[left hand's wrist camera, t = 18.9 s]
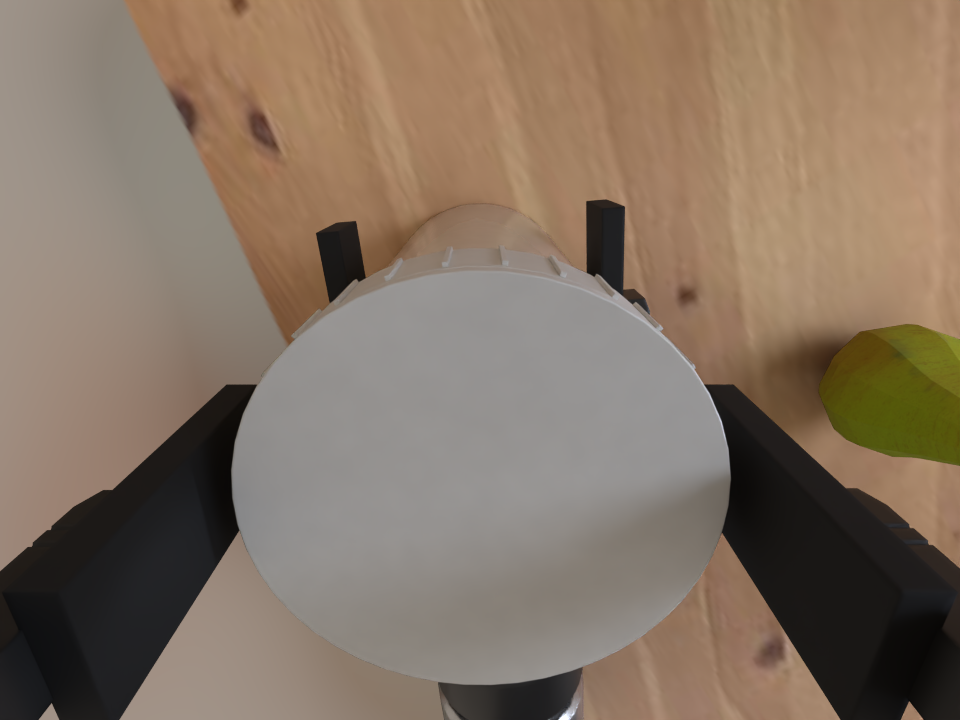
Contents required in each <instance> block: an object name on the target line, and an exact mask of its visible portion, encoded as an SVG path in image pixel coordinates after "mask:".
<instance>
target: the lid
mask: <svg viewBox="0 0 960 720" xmlns="http://www.w3.org/2000/svg"><path fill="white" fill-rule="evenodd" d="M662 329H663V328H662V327H661V326H660V325H659V324H658V323H657V322H656V321H655V320H654V319H653V318H652V317H651V316H650V315H649V314H648V313H647V312H646V311H645V310H644V309H643V308H642V307H641V306H640V305H639V304H638V303H637V302H635V303H634V304H633V305H632V304H631V303H630V302H629V301H628V300H626V299H625V298H624V297H623V296H622V295H621V294H619V293H618V292H617V291H616V290H614V289H613V288H611V286H610V285H609V284H608V283H607V282H606V281H605V280H604V279H603V278H602V277H601V276H599V275H598V274H596V276H595V277H593V276H592V275H590V274H588V273H586V272H583V271H581V270H579V269H577V268H574V267H572V266H570V265H568V264H565V263H563V262H560V261H558V260H557V258H556V257H555V256H553V255H550V256H549V258H546V257H543V256H540V255H536V254H533V253H526V252H520V251H513V250H506V249H505V247H504V246H503V245H499V249H489V248H466V249H457V250H453V249H452V246H450V247H447V248H446V251H440V252H435V253H431V254H427V255H423V256H419V257H415V258H411V259H407V260H405V261H403V259H402V258H399V259H397V260H396V261H395V263H394V264H393V265H392V266H390V267H387V268H385V269H382V270H380V271H378V272H376V273H374V274H372V275H371V276H369V277H367V278H365V279H364V280H362V281H360V282H358V280H357V279H356V280H354V281H353V282H352V283H351V284H350V285H349V286H348V287H347V288H346V289H345V290H344V291H343V292H342V293H341V294H340V295H339V296H338V297H337V298H336V299H335V300H334V301H332V302H331V303H330V304H329V305H328V306H327V307H326V308H325V309H324V310H323V311H322V310H320V309H318V310H317V311H316V312H315V313H314V314H313V315H312V316H311V317H310V318H309V319H308V320H307V321H306V322H305V323H304V324H303V325H302V326H300V327H299V328H298V329H297V330H296V331H295V332H294V333H293V334H292V335H291V336H292V337H293V338H294V339H295V340H294V341H293V342H292V343H291V344H290V345H289V346H288V347H287V348H286V349H285V350H284V351H283V352H282V353H281V354H280V355H279V356H278V357H277V358H276V359H275V361H274V362H273V363H272V364H271V365H270V366H269V367H268V368H267V369H266V370H265V371H264V372H263V373H262V375H261V376H262V377H263V378H262V379H261V381H260V382H259V383H258V385H257V386H256V388H255V390H254V392H253V394H252V396H251V399H250V401H249V403H248V405H247V407H246V409H245V411H244V413H243V416H242V419H241V423H240V426H239V429H238V433H237V436H236V439H235V444H234V452H233V460H232V468H231V476H232V499H233V504H234V509H235V515H236V520H237V525H238V527H239V530H240V533H241V536H242V538H243V541H244V544H245V547H246V550H247V552H248V553H249V555H250V557H251V559H252V561H253V563H254V565H255V567H256V569H257V570H258V572H259V574H260V575H261V577H262V578H263V579H264V581H265V582H266V584H267V585H268V586H269V588H270V589H271V591H272V592H273V593H274V595H275V596H276V597H277V598H278V599H279V600H280V601H281V602H282V603H283V604H284V605H285V607H286V608H287V609H288V610H289V611H290V612H291V613H292V614H293V615H294V616H295V617H297V618H298V619H299V620H300V621H301V622H302V623H304V624H305V625H306V626H307V627H308V628H310V629H311V630H312V631H313V632H315V633H316V634H318V635H319V636H321V637H322V638H324V639H325V640H327V641H328V642H330V643H331V644H333V645H334V646H336V647H338V648H340V649H341V650H343V651H345V652H347V653H349V654H351V655H353V656H355V657H356V658H358V659H361V660H363V661H366V662H368V663H371V664H373V665H376V666H378V667H380V668H383V669H386V670H390V671H393V672H396V673H400V674H403V675H406V676H410V677H415V678H420V679H425V680H430V681H435V682H444V683H453V684H463V685H496V684H508V683H519V682H525V681H531V680H537V679H543V678H547V677H551V676H555V675H558V674H562V673H566V672H569V671H573V670H575V669H578V668H581V667H583V666H586V665H589V664H591V663H594V662H596V661H599V660H601V659H603V658H605V657H607V656H609V655H611V654H613V653H615V652H617V651H619V650H621V649H622V648H624V647H625V646H627V645H629V644H630V643H632V642H633V641H635V640H637V639H638V638H640V637H641V636H643V635H644V634H645V633H647V632H648V631H649V630H651V629H652V628H653V627H654V626H656V625H657V624H658V623H659V622H661V621H662V620H663V619H664V618H665V617H666V616H667V615H668V614H669V613H670V612H671V611H672V610H673V609H674V608H675V607H676V606H677V605H678V604H679V603H680V602H681V601H682V600H683V599H684V598H685V596H686V595H687V594H688V592H689V591H690V590H691V589H692V587H693V586H694V585H695V583H696V582H697V581H698V579H699V578H700V576H701V575H702V573H703V571H704V569H705V568H706V566H707V564H708V562H709V561H710V559H711V557H712V555H713V553H714V550H715V548H716V546H717V543H718V541H719V538H720V536H721V533H722V530H723V526H724V522H725V518H726V514H727V509H728V505H729V493H730V481H731V475H730V462H729V450H728V445H727V441H726V437H725V433H724V429H723V425H722V421H721V419H720V417H719V414H718V412H717V410H716V407H715V405H714V403H713V400H712V398H711V396H710V393H709V392H708V390H707V389H706V387H705V386H704V384H703V382H702V381H701V379H700V378H699V376H698V375H697V373H696V371H695V370H694V369H695V368H696V367H695V366H694V364H693V363H692V362H691V361H690V360H689V359H688V358H687V357H686V356H685V355H684V354H683V353H682V352H681V351H680V350H679V349H678V348H677V347H676V346H675V345H674V344H673V343H672V342H671V341H670V340H669V339H668V338H667V337H666V336H664V335H663V334H662V333H661V332H660V331H661V330H662Z"/></svg>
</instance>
